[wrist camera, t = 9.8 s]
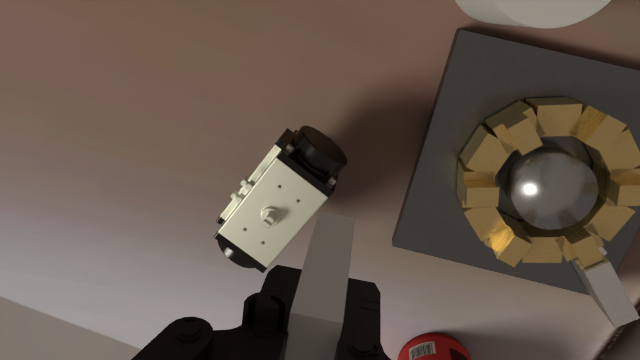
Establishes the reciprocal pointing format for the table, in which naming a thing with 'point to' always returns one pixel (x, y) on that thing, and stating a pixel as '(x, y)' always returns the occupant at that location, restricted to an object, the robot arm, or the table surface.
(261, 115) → the table surface
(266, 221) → the pneumatic valve
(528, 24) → the white cylinder
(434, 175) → the base plate
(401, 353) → the canned food
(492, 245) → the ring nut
